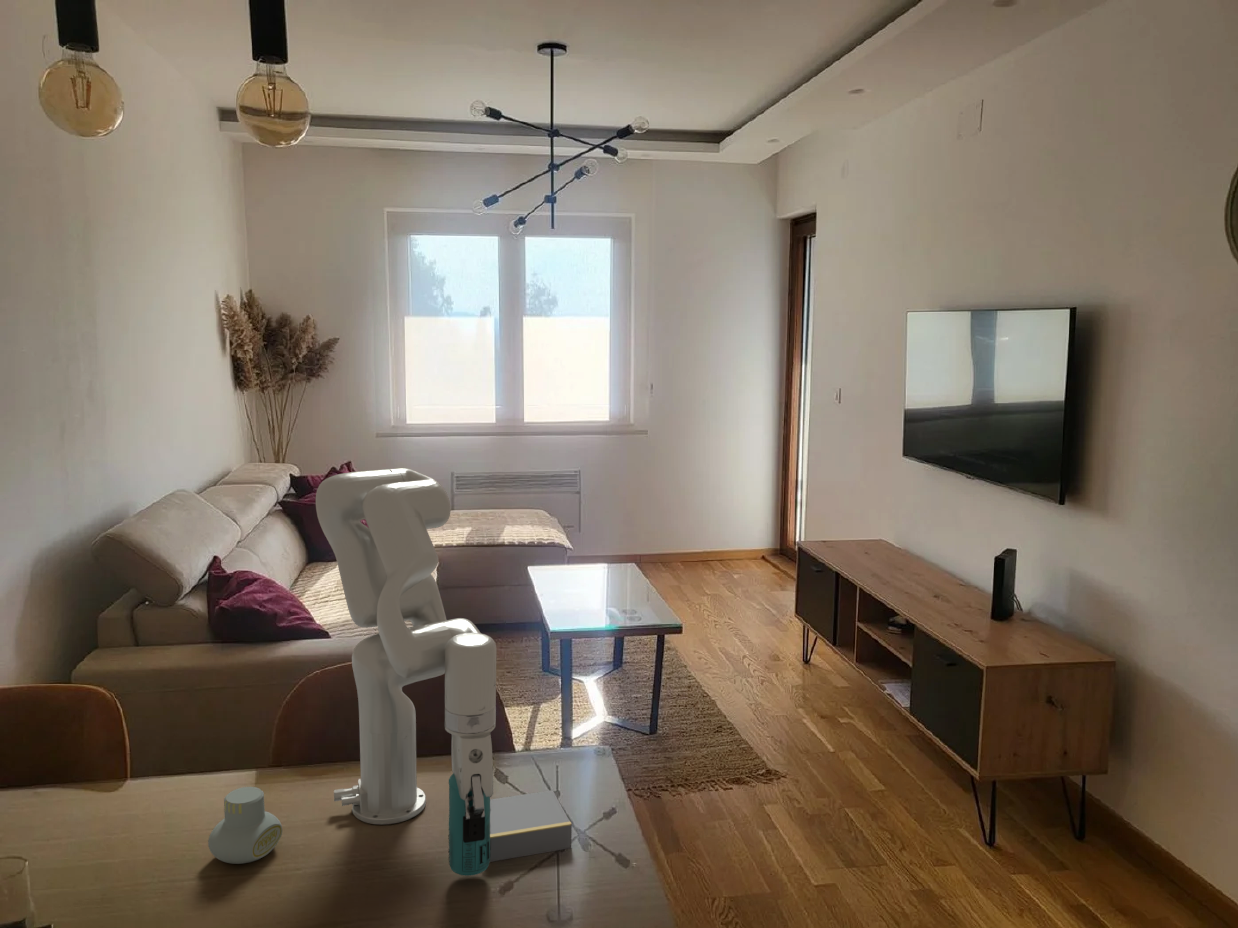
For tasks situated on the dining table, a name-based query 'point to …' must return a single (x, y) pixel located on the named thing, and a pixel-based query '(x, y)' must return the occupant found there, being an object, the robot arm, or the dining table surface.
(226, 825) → the air freshener
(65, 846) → the dining table surface
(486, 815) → the beverage bottle
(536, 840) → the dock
